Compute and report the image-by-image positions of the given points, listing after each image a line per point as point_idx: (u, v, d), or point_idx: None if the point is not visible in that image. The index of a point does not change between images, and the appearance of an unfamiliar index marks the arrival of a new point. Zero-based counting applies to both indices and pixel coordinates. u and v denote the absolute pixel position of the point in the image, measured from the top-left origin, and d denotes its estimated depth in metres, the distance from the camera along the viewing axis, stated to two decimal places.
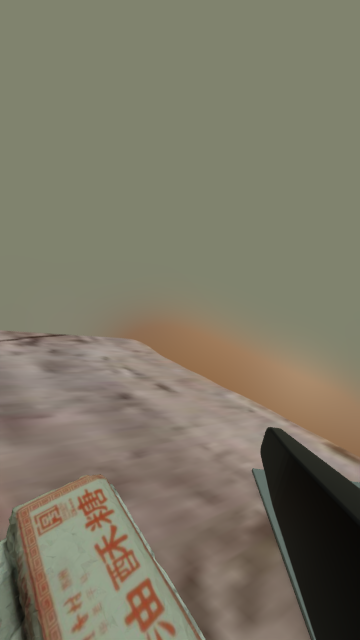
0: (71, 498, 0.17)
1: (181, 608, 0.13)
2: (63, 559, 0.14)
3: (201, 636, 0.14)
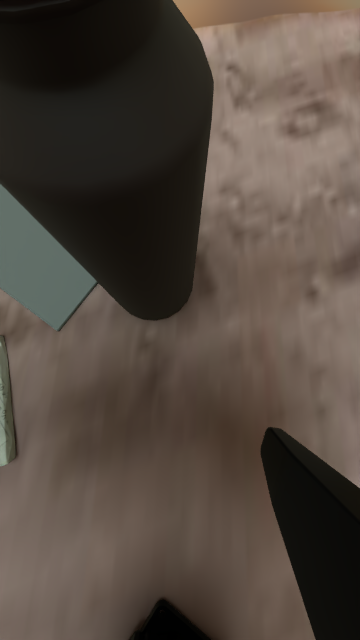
0: None
1: None
2: None
3: None
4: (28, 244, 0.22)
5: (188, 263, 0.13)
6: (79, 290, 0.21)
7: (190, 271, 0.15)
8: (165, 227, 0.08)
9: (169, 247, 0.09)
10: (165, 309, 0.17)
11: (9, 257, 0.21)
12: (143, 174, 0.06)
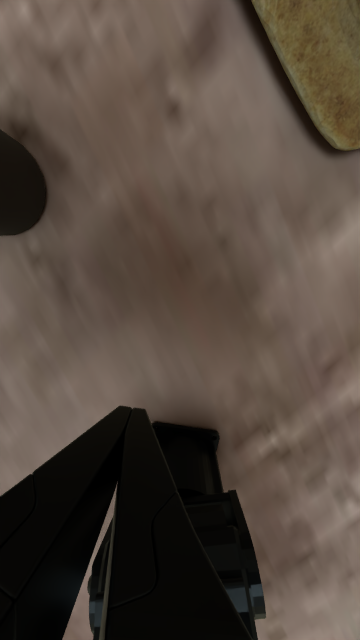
0: None
1: None
2: None
3: None
4: None
5: None
6: None
7: None
8: None
9: None
10: (13, 213, 0.15)
11: None
12: None
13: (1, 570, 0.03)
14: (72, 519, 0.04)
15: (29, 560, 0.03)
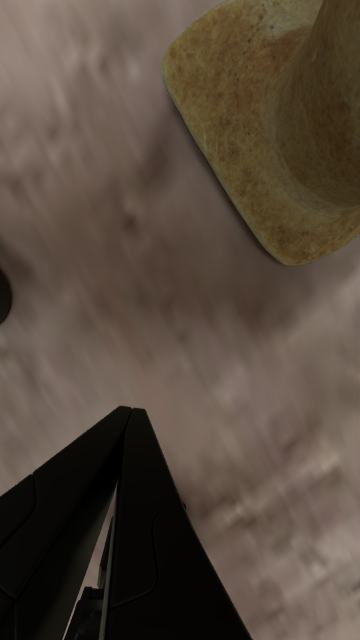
0: None
1: None
2: None
3: None
4: None
5: None
6: None
7: None
8: None
9: None
10: None
11: None
12: None
13: (1, 570, 0.03)
14: (72, 519, 0.04)
15: (29, 560, 0.03)
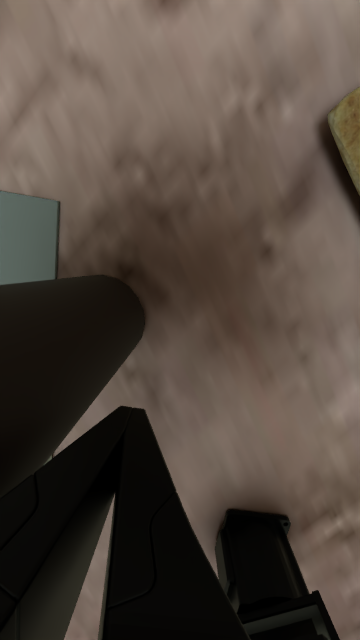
0: None
1: None
2: None
3: None
4: None
5: (108, 364, 0.11)
6: None
7: (121, 344, 0.13)
8: (38, 467, 0.07)
9: (66, 431, 0.08)
10: None
11: None
12: None
13: (4, 570, 0.03)
14: (74, 519, 0.04)
15: (31, 560, 0.03)
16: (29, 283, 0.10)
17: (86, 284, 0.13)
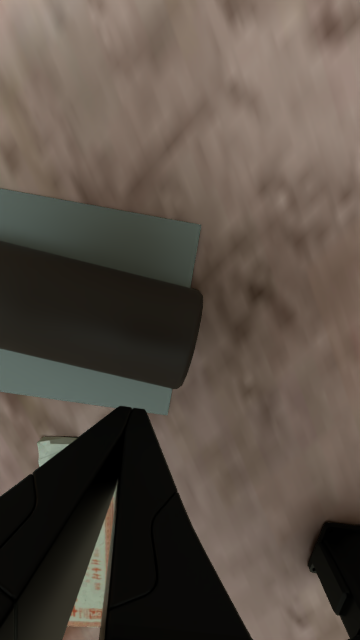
0: (78, 617, 0.22)
1: None
2: (95, 593, 0.21)
3: None
4: None
5: (47, 317, 0.13)
6: None
7: (83, 319, 0.13)
8: None
9: None
10: (132, 369, 0.14)
11: (81, 376, 0.20)
12: None
13: (1, 570, 0.03)
14: (72, 519, 0.04)
15: (29, 560, 0.03)
16: (77, 260, 0.16)
17: (118, 272, 0.15)
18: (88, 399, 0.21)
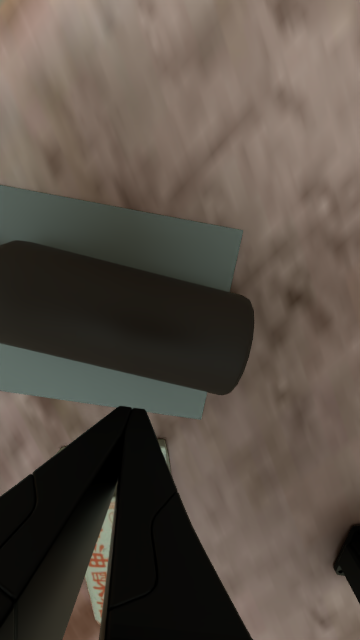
0: None
1: None
2: None
3: None
4: None
5: (104, 324, 0.13)
6: None
7: (140, 325, 0.13)
8: (14, 324, 0.13)
9: (40, 329, 0.13)
10: (185, 375, 0.14)
11: (116, 380, 0.20)
12: None
13: (1, 570, 0.03)
14: (72, 519, 0.04)
15: (29, 560, 0.03)
16: (123, 265, 0.16)
17: (167, 278, 0.15)
18: (122, 403, 0.21)
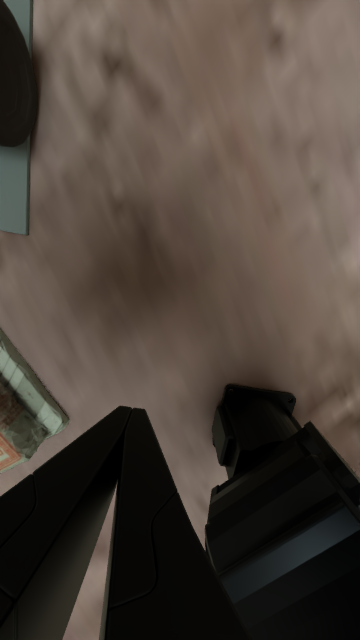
0: None
1: None
2: None
3: None
4: None
5: None
6: (16, 178, 0.17)
7: None
8: None
9: None
10: None
11: None
12: None
13: (1, 570, 0.03)
14: (72, 519, 0.04)
15: (29, 560, 0.03)
16: None
17: None
18: None
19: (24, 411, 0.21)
